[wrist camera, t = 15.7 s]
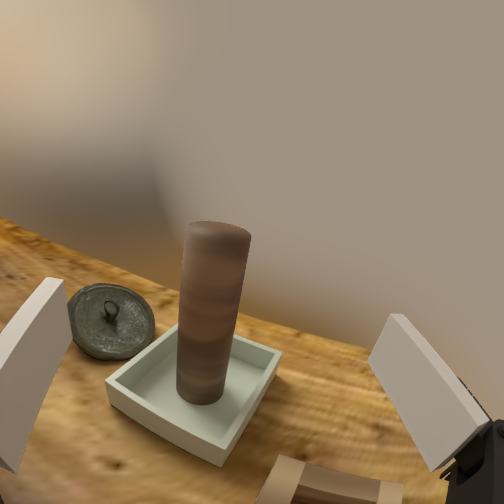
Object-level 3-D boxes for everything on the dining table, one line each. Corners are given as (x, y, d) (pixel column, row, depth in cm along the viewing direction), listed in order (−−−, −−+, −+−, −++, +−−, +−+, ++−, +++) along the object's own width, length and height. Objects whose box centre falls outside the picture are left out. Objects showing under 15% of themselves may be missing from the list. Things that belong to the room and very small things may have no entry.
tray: (220, 467, 18) (225, 449, 17) (109, 403, 21) (104, 380, 20) (275, 373, 29) (282, 352, 28) (186, 336, 33) (187, 314, 32)
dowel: (209, 412, 22) (234, 248, 17) (166, 390, 24) (172, 229, 18) (231, 383, 26) (260, 233, 21) (191, 365, 28) (207, 217, 22)
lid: (130, 302, 37) (130, 268, 35) (172, 343, 31) (174, 306, 29) (58, 321, 29) (52, 285, 27) (87, 375, 23) (78, 336, 22)
